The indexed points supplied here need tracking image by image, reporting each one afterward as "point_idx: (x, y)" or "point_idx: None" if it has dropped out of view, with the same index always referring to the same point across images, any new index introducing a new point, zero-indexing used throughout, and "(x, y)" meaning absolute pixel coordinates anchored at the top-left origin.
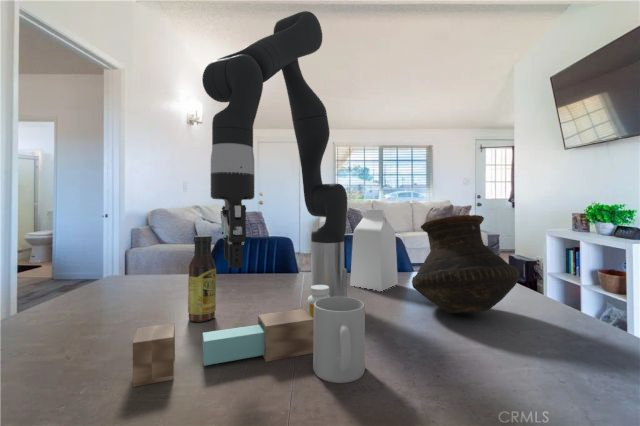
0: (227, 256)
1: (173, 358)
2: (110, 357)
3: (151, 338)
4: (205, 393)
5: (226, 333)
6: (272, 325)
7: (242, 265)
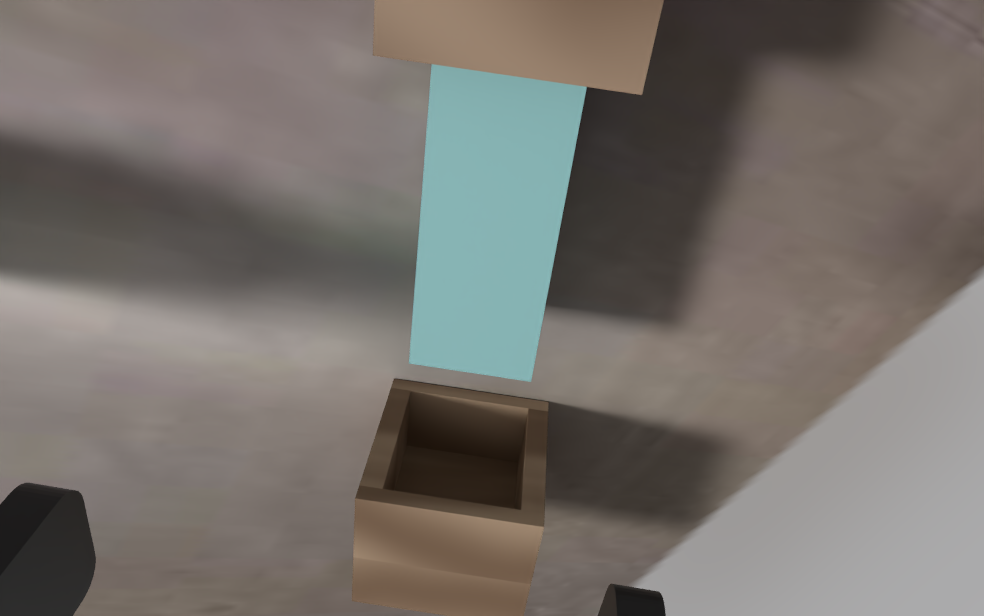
0: (67, 592)
1: (546, 457)
2: (263, 530)
3: (510, 582)
4: (719, 336)
5: (481, 270)
6: (652, 42)
7: (660, 599)
